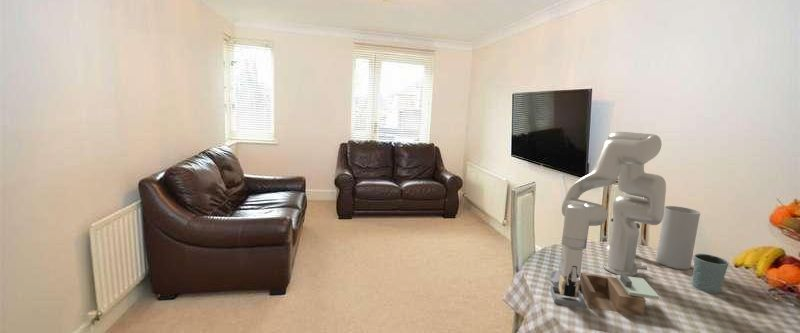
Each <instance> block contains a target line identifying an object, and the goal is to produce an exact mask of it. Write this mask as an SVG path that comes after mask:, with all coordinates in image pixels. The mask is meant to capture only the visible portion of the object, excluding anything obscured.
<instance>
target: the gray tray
mask: <svg viewBox="0 0 800 333" xmlns="http://www.w3.org/2000/svg"><path fill="white" fill-rule="evenodd" d="M549 288H550V289H549V290H550V291H549V292H550V293H551V297H552V300H553V303H554V304H560V305H566V306H571V307H572V306H573V307H577V308H584V309H585V308H586V301H585V299H584V297H583V295H582V293H581V290H578V292H577V297H578V300H579V301H577V300H572V299H571V300H570V299H564V298H559V297H558V298H557V297H556V294H555V292H556V293H560V291H559V289H558V287H556V286H554V285H550V287H549Z"/></svg>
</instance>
